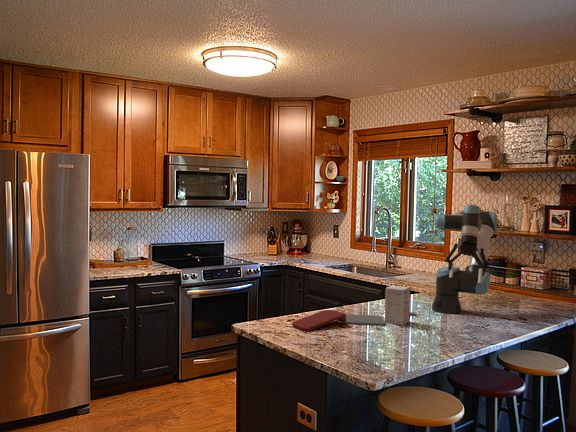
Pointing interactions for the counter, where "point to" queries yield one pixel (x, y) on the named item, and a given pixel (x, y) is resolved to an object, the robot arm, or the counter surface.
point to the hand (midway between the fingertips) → (465, 279)
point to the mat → (364, 319)
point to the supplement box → (397, 305)
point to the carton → (319, 319)
